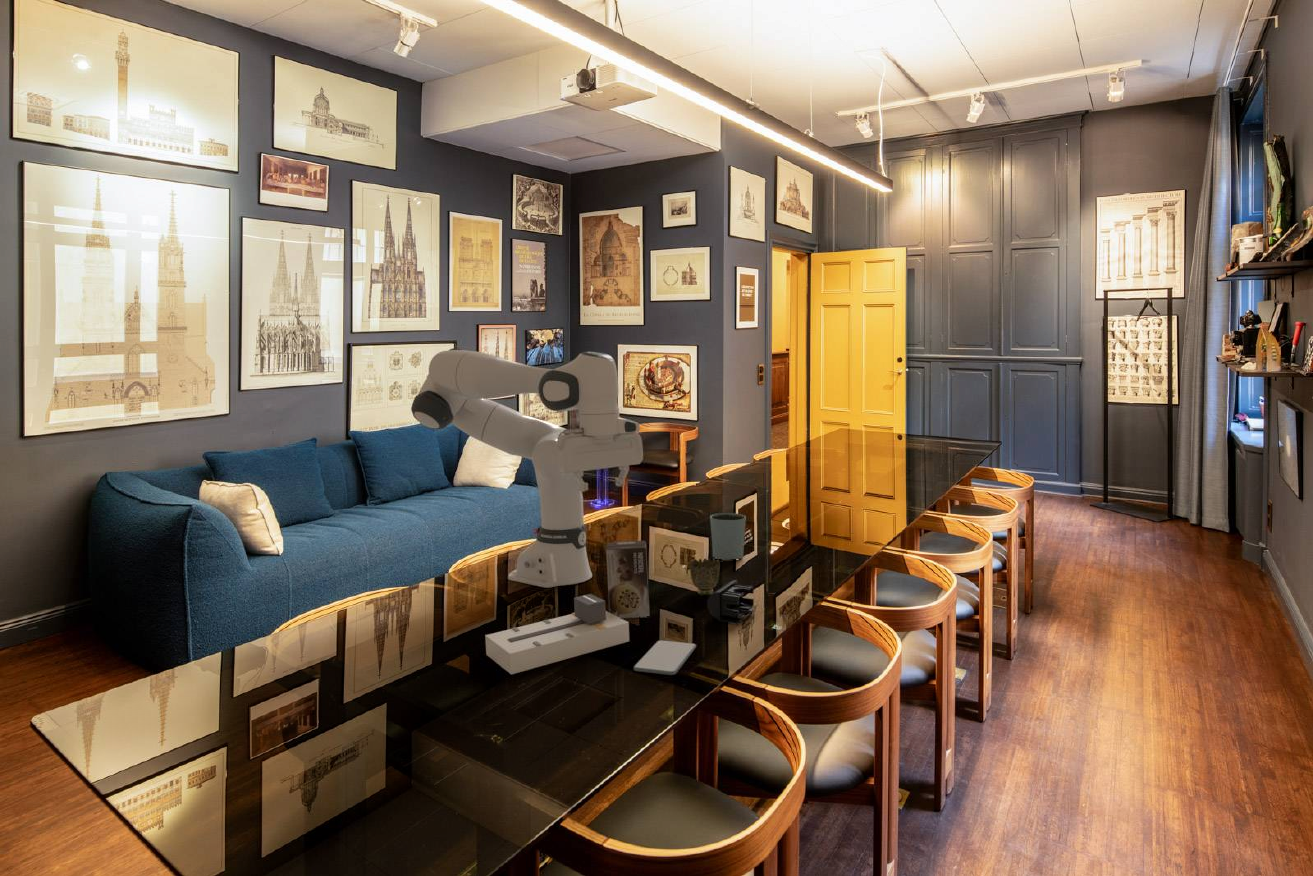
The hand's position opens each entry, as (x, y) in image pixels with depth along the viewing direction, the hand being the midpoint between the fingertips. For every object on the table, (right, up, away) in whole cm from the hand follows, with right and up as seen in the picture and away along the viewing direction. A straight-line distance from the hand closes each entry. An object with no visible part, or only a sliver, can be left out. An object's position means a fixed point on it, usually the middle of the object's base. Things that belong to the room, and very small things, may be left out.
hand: (602, 488), depth 168 cm
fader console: (-8, -31, -15) cm, 35 cm away
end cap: (+29, -29, +1) cm, 41 cm away
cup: (+24, -27, +17) cm, 40 cm away
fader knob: (-2, -26, -11) cm, 28 cm away
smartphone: (+14, -32, -21) cm, 41 cm away
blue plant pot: (+33, -23, +49) cm, 63 cm away
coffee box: (+6, -29, +4) cm, 30 cm away
